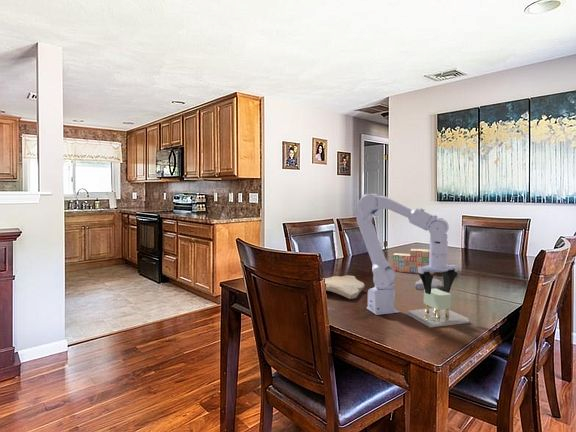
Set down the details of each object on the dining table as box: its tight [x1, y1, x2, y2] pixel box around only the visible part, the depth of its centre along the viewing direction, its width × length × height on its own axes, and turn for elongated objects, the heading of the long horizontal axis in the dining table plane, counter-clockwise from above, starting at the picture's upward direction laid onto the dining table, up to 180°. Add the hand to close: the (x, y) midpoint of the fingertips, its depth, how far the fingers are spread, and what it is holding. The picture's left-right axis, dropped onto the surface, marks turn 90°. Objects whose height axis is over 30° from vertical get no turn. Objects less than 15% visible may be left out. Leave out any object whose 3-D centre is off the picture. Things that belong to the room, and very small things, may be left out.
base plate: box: [406, 304, 470, 328], centre depth 130 cm, size 15×13×4 cm
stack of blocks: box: [392, 248, 435, 275], centre depth 204 cm, size 21×6×12 cm, turn 67°
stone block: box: [415, 277, 443, 291], centre depth 171 cm, size 12×5×10 cm
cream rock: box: [324, 275, 365, 300], centre depth 165 cm, size 24×8×20 cm
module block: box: [423, 288, 452, 310], centre depth 130 cm, size 5×8×5 cm, turn 15°
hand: (437, 292), depth 130 cm, fingers open, 7 cm apart
